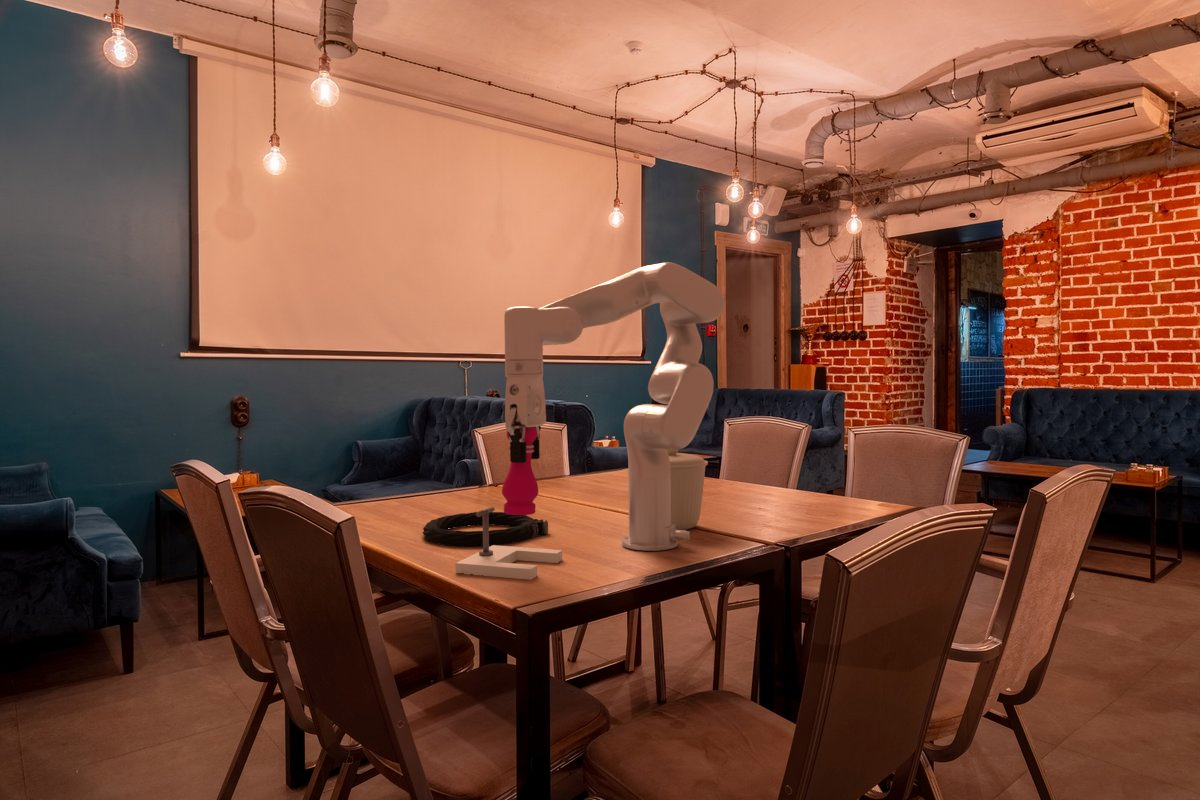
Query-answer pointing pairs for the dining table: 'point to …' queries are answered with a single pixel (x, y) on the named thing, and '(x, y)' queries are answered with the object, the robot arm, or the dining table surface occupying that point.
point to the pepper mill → (521, 481)
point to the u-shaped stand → (504, 557)
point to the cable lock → (518, 532)
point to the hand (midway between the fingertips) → (525, 459)
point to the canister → (686, 488)
